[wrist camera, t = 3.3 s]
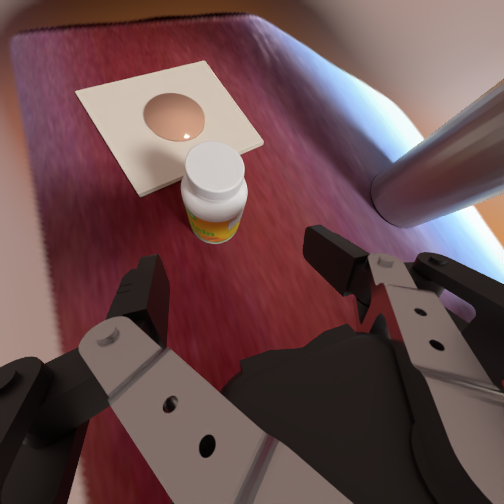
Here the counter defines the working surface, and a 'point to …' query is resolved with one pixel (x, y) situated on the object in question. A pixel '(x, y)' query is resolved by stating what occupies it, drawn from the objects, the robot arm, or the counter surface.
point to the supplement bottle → (214, 190)
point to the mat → (151, 145)
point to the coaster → (174, 117)
